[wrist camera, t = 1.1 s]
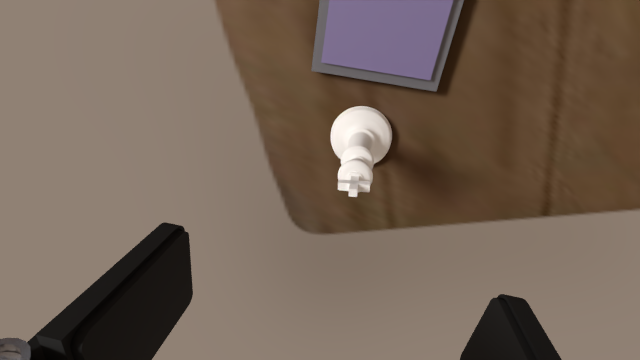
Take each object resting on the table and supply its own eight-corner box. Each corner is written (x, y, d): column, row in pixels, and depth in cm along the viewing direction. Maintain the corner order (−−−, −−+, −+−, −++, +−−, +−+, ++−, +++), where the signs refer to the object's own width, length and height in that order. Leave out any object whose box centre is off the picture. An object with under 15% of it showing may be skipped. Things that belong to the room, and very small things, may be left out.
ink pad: (479, -64, 18) (487, -71, 17) (433, 89, 22) (437, 92, 21) (332, -82, 19) (329, -90, 18) (313, 69, 23) (310, 71, 22)
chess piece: (389, 166, 25) (397, 236, 16) (330, 163, 26) (307, 228, 17) (395, 106, 23) (407, 149, 14) (331, 105, 24) (304, 144, 15)
